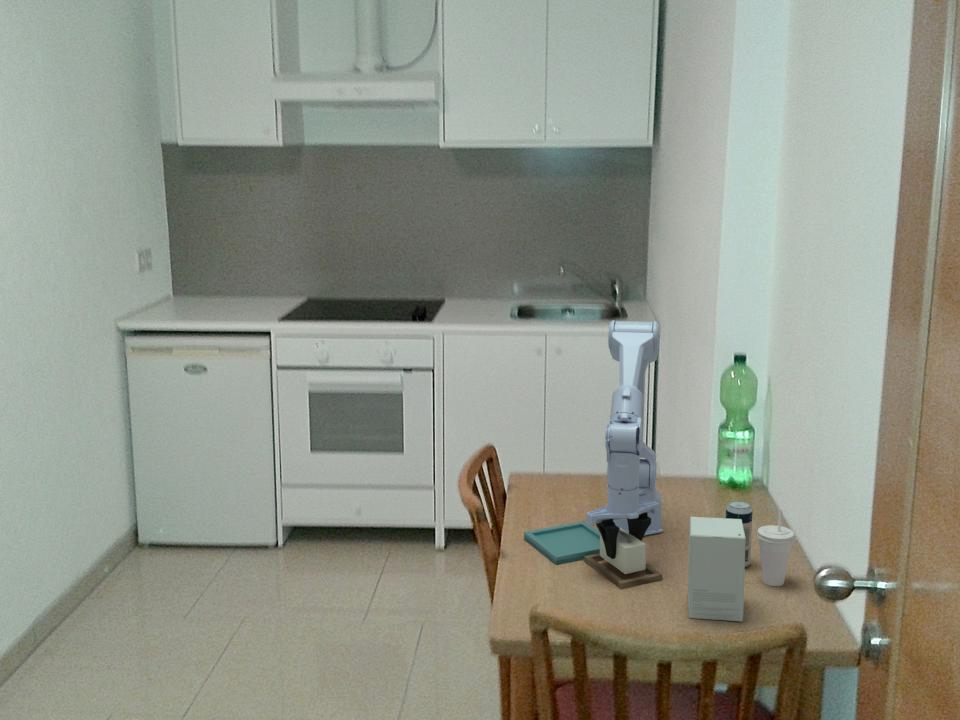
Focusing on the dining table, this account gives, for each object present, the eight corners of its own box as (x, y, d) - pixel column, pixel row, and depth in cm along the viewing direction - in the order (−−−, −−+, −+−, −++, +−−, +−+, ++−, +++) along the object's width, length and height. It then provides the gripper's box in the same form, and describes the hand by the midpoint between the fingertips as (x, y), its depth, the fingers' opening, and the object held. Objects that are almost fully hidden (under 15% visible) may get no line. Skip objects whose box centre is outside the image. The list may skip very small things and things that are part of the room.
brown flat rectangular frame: (623, 553, 184) (623, 548, 184) (662, 579, 172) (662, 574, 171) (583, 561, 180) (583, 556, 180) (620, 588, 168) (621, 583, 168)
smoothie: (793, 590, 166) (797, 516, 163) (756, 588, 168) (759, 514, 165) (789, 575, 172) (793, 503, 170) (753, 573, 174) (756, 501, 171)
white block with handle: (619, 551, 181) (620, 521, 179) (645, 569, 173) (646, 538, 171) (599, 555, 179) (600, 525, 178) (625, 574, 171) (625, 542, 170)
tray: (584, 527, 197) (584, 521, 197) (619, 552, 184) (619, 544, 184) (524, 539, 191) (524, 532, 191) (556, 564, 179) (556, 557, 179)
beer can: (750, 560, 179) (753, 501, 177) (749, 570, 175) (752, 510, 172) (725, 557, 181) (727, 498, 178) (722, 567, 176) (725, 507, 174)
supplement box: (740, 598, 164) (743, 517, 161) (743, 623, 155) (747, 537, 152) (687, 595, 165) (689, 514, 162) (687, 618, 157) (690, 534, 154)
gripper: (600, 498, 166) (599, 569, 169) (669, 486, 172) (667, 555, 175) (580, 486, 173) (580, 555, 175) (647, 474, 178) (646, 541, 181)
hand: (622, 554), depth 175 cm, fingers closed on white block with handle, 4 cm apart
